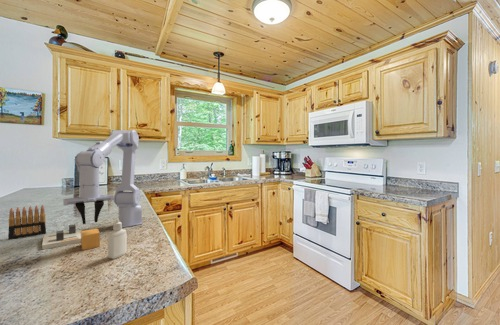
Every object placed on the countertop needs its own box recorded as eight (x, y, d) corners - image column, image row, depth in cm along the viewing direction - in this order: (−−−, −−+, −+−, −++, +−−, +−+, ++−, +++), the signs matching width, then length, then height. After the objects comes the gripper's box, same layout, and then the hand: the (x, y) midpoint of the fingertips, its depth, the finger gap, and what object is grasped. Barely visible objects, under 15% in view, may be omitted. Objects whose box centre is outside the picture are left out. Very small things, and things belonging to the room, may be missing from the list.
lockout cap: (97, 241, 85) (97, 228, 85) (99, 246, 80) (99, 232, 80) (81, 244, 82) (80, 231, 82) (82, 250, 77) (82, 235, 77)
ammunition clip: (8, 239, 86) (7, 208, 86) (9, 238, 87) (8, 207, 87) (45, 234, 93) (45, 205, 92) (46, 232, 94) (45, 204, 94)
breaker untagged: (75, 230, 92) (75, 224, 92) (75, 232, 90) (75, 226, 90) (68, 231, 91) (68, 225, 91) (69, 233, 88) (69, 227, 88)
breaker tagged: (63, 237, 85) (63, 230, 85) (63, 239, 82) (63, 232, 82) (56, 238, 83) (56, 231, 83) (56, 241, 81) (56, 233, 81)
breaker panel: (79, 232, 94) (79, 229, 94) (82, 242, 84) (82, 237, 84) (44, 238, 87) (43, 234, 87) (42, 249, 77) (42, 245, 77)
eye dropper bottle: (129, 254, 74) (129, 218, 74) (109, 260, 70) (109, 222, 70) (125, 250, 77) (124, 216, 77) (106, 255, 73) (105, 219, 73)
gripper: (63, 187, 73) (64, 229, 73) (115, 184, 82) (115, 221, 83) (63, 185, 78) (63, 224, 79) (111, 182, 88) (111, 217, 88)
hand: (90, 222), depth 81 cm, fingers open, 3 cm apart
